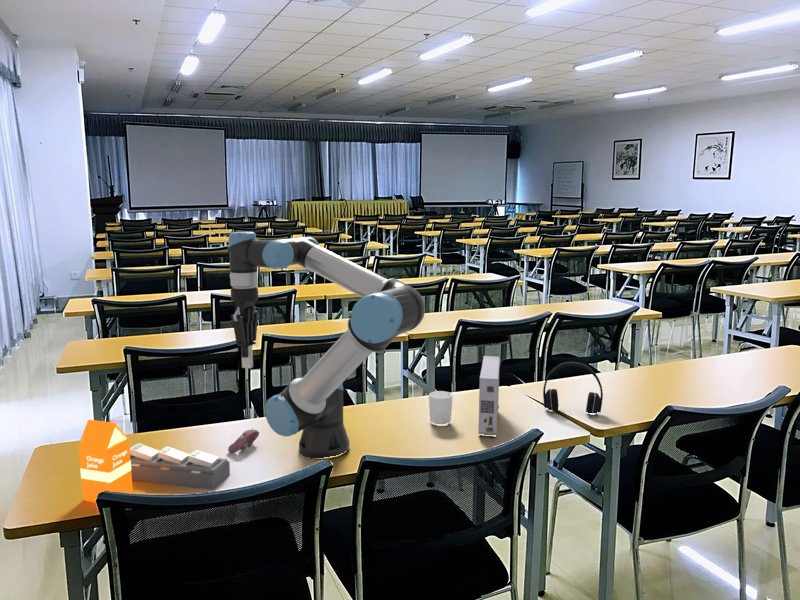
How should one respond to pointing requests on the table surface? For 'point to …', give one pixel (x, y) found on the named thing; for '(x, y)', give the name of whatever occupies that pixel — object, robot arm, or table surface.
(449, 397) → the white cup
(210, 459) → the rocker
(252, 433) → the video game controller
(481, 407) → the game console
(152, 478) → the power strip
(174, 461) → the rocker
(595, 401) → the headphones
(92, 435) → the orange juice
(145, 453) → the rocker
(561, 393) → the table surface
